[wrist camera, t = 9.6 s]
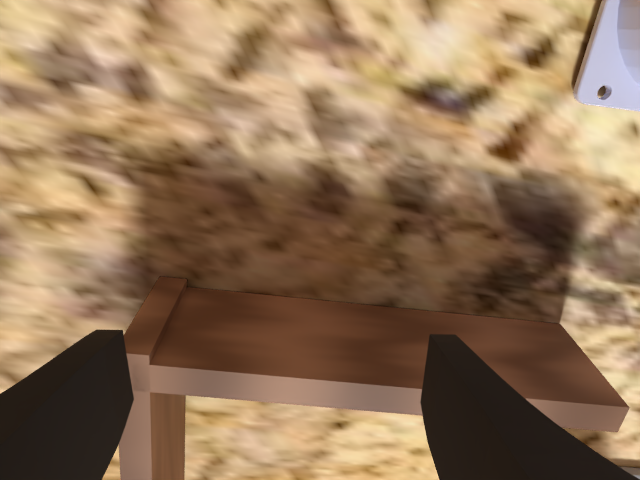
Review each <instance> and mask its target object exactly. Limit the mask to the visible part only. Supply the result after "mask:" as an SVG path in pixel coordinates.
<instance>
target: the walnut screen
mask: <svg viewBox="0 0 640 480" xmlns="http://www.w3.org/2000/svg"><path fill="white" fill-rule="evenodd" d="M430 334H455V335H457V336H458V337H459V338H460V339H461V340H462V341H463V342H464V343H465V344H466V345H467V346H468V347H469V348H470V349H471V350H473V351H474V352H475V353H476V354H477V355H478V356H479V357H480V358H481V359H482V360H483V361H484V362H485V363H486V364H487V365H488V366H489V367H490V368H491V369H493V370H494V371H495V372H496V373H497V374H498V375H499V376H500V377H501V378H502V379H503V380H504V381H506V382H507V383H508V384H509V385H510V386H511V387H512V388H513V389H515V390H516V391H517V392H518V393H519V394H520V395H521V396H523V397H524V398H525V399H526V400H527V401H529V402H530V403H531V404H532V405H533V406H535V407H536V408H537V409H538V410H540V411H541V412H542V413H543V414H545V415H546V416H547V417H548V418H550V419H551V420H552V421H553V422H555V423H556V424H557V425H559V426H560V427H562V428H574V429H586V430H597V431H609V432H618V431H619V428H620V426H621V424H622V422H623V420H624V418H625V416H626V414H627V412H628V410H629V406H628V405H627V404H626V403H625V402H624V400H623V399H622V398H621V397H620V396H619V394H618V393H617V392H616V391H615V389H614V388H613V387H612V386H611V385H610V383H609V382H608V381H607V380H606V379H605V377H604V376H603V375H602V374H601V373H600V371H599V370H598V369H597V368H596V367H595V365H594V364H593V363H592V362H591V360H590V359H589V358H588V357H587V356H586V354H585V353H584V352H583V351H582V350H581V348H580V347H579V346H578V345H577V344H576V342H575V341H574V340H573V339H572V338H571V336H570V335H569V334H568V333H567V332H566V330H565V329H564V328H563V327H562V325H561V324H557V323H546V322H536V321H526V320H516V319H506V318H496V317H486V316H476V315H466V314H456V313H445V312H435V311H425V310H415V309H405V308H395V307H385V306H375V305H365V304H355V303H344V302H334V301H324V300H314V299H304V298H294V297H284V296H274V295H264V294H254V293H243V292H233V291H223V290H213V289H203V288H193V287H187V279H181V278H171V277H161V276H160V277H159V279H158V280H157V282H156V283H155V285H154V287H153V288H152V290H151V292H150V293H149V295H148V297H147V298H146V300H145V301H144V303H143V305H142V306H141V308H140V310H139V311H138V313H137V315H136V316H135V318H134V319H133V321H132V323H131V324H130V326H129V328H128V329H127V331H126V333H125V334H124V342H125V348H126V354H127V360H128V366H129V372H130V378H131V384H132V390H133V396H134V401H133V404H132V407H131V410H130V413H129V417H128V420H127V423H126V426H125V429H124V431H123V434H122V437H121V440H120V442H119V457H120V474H121V480H184V457H185V395H189V396H201V397H212V398H224V399H236V400H247V401H259V402H271V403H282V404H294V405H306V406H317V407H329V408H341V409H352V410H364V411H376V412H387V413H399V414H411V415H422V416H423V414H422V409H421V403H420V401H421V394H422V386H423V379H424V372H425V364H426V357H427V350H428V343H429V335H430Z"/></svg>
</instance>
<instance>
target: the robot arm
mask: <svg viewBox="0 0 640 480" xmlns="http://www.w3.org/2000/svg"><path fill="white" fill-rule="evenodd" d="M602 86H605V88H606V92H605V94H604V95H603V96H602V97H601V98H598V96H597V92H598V90H599V88H601V87H602ZM573 94H574V98H575V99H576V100H577V101H578V102H580V103H583V104H587V105H594V106H602V107H610V108H618V109H626V110H634V111H640V0H602V2H601V5H600V8H599V11H598V14H597V17H596V21H595V24H594V27H593V30H592V33H591V36H590V39H589V43H588V46H587V49H586V52H585V55H584V58H583V62H582V65H581V68H580V71H579V74H578V77H577V80H576V84H575V87H574V92H573ZM133 401H134V396H133V390H132V384H131V378H130V372H129V366H128V360H127V354H126V348H125V342H124V336H123V330H95V331H94V332H92V333H90V334H89V335H87V336H85V337H84V338H82V339H81V340H79V341H78V342H77V343H75V344H74V345H72V346H71V347H69V348H68V349H66V350H65V351H63V352H62V353H61V354H59V355H58V356H56V357H55V358H53V359H52V360H51V361H49V362H48V363H46V364H45V365H43V366H42V367H40V368H39V369H37V370H36V371H34V372H33V373H32V374H30V375H29V376H27V377H26V378H24V379H23V380H21V381H20V382H18V383H17V384H15V385H14V386H12V387H10V388H9V389H7V390H6V391H4V392H3V393H1V394H0V480H102V478H103V476H104V474H105V472H106V470H107V468H108V465H109V463H110V461H111V459H112V457H113V455H114V453H115V451H116V449H117V446H118V444H119V442H120V440H121V437H122V434H123V431H124V429H125V426H126V423H127V420H128V417H129V413H130V410H131V407H132V404H133ZM420 403H421V409H422V414H423V420H424V425H425V430H426V435H427V440H428V444H429V448H430V451H431V454H432V457H433V460H434V464H435V467H436V470H437V473H438V476H439V479H440V480H640V479H638V478H637V477H635V476H633V475H632V474H630V473H628V472H627V471H625V470H623V469H622V468H620V467H618V466H617V465H615V464H614V463H612V462H610V461H609V460H607V459H606V458H604V457H603V456H601V455H600V454H598V453H597V452H595V451H594V450H592V449H591V448H589V447H588V446H587V445H585V444H584V443H582V442H581V441H579V440H578V439H577V438H575V437H574V436H572V435H571V434H569V433H568V432H567V431H565V430H564V429H563V428H561V427H560V426H559V425H557V424H556V423H555V422H553V421H552V420H551V419H550V418H548V417H547V416H546V415H545V414H543V413H542V412H541V411H540V410H538V409H537V408H536V407H535V406H533V405H532V404H531V403H530V402H529V401H527V400H526V399H525V398H524V397H523V396H521V395H520V394H519V393H518V392H517V391H516V390H515V389H513V388H512V387H511V386H510V385H509V384H508V383H507V382H506V381H504V380H503V379H502V378H501V377H500V376H499V375H498V374H497V373H496V372H495V371H494V370H493V369H491V368H490V367H489V366H488V365H487V364H486V363H485V362H484V361H483V360H482V359H481V358H480V357H479V356H478V355H477V354H476V353H475V352H474V351H473V350H471V349H470V348H469V347H468V346H467V345H466V344H465V343H464V342H463V341H462V340H461V339H460V338H459V337H458V336H457V335H455V334H430V335H429V343H428V350H427V357H426V364H425V372H424V379H423V386H422V394H421V401H420Z"/></svg>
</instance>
